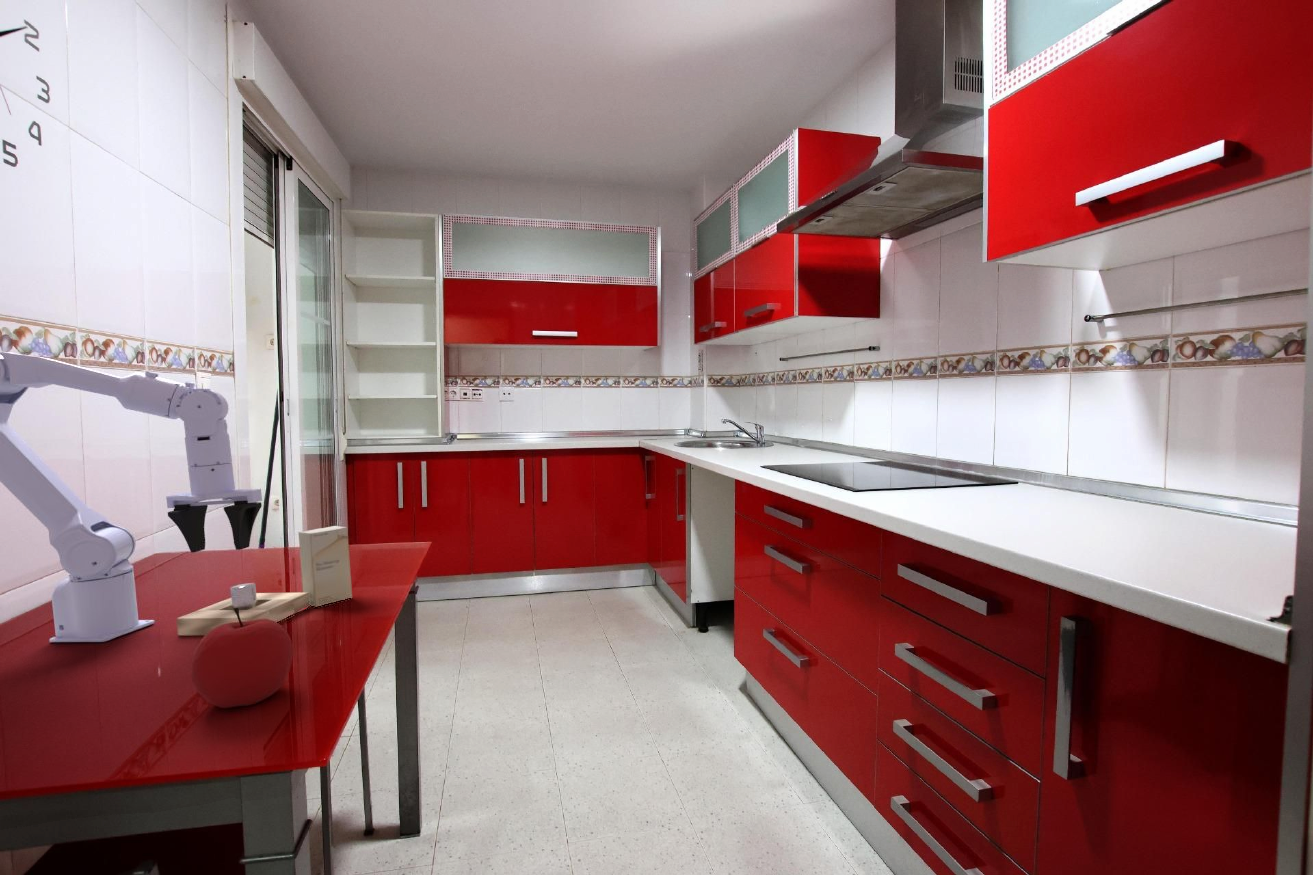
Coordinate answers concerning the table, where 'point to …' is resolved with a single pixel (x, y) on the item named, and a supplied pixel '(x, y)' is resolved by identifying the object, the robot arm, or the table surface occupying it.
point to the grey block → (244, 596)
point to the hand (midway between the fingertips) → (220, 549)
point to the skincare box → (325, 564)
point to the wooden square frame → (242, 612)
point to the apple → (241, 662)
